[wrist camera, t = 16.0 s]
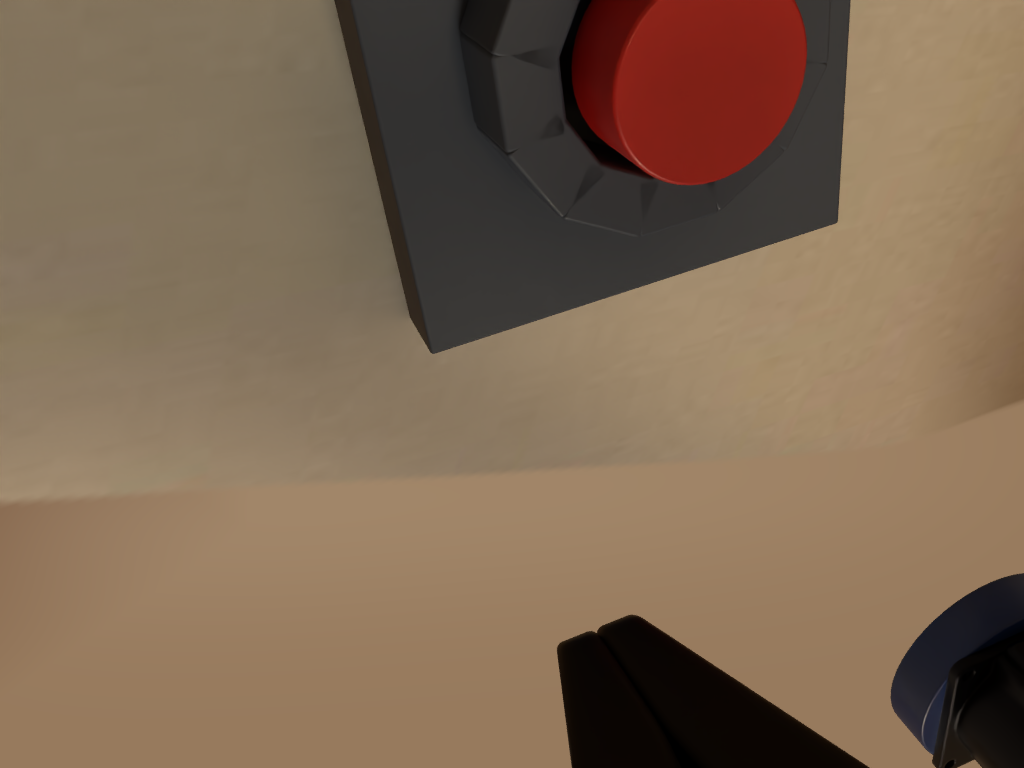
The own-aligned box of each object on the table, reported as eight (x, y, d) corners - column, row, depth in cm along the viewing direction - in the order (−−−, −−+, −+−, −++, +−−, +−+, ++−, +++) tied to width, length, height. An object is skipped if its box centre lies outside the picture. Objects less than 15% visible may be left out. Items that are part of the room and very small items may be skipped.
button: (751, 125, 19) (805, 155, 17) (580, 176, 18) (622, 211, 17) (752, -77, 17) (812, -61, 15) (558, -29, 16) (603, -8, 15)
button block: (796, 197, 24) (889, 255, 21) (410, 319, 22) (457, 400, 19) (813, -360, 18) (949, -380, 15) (271, -262, 16) (313, -264, 13)
